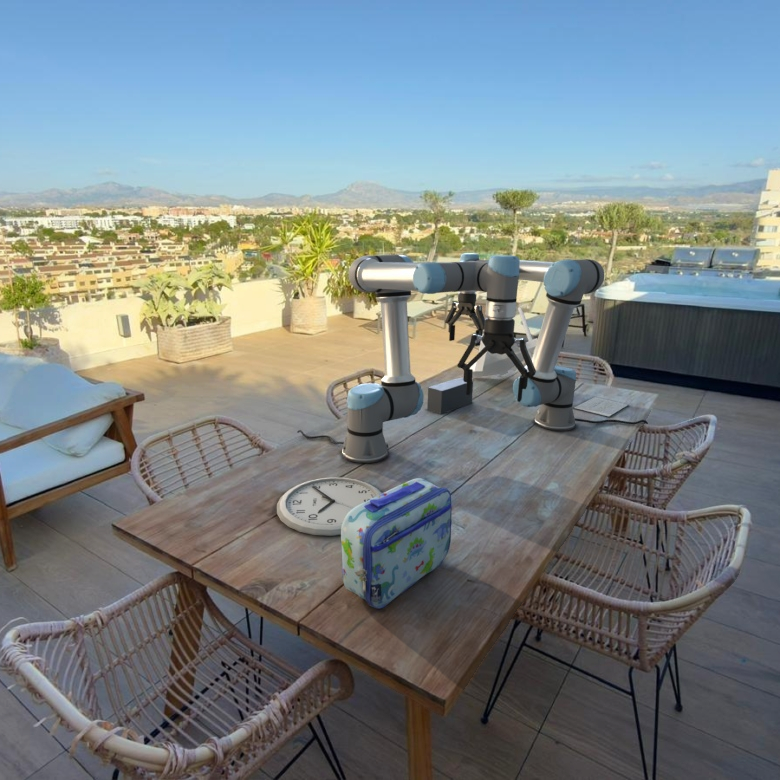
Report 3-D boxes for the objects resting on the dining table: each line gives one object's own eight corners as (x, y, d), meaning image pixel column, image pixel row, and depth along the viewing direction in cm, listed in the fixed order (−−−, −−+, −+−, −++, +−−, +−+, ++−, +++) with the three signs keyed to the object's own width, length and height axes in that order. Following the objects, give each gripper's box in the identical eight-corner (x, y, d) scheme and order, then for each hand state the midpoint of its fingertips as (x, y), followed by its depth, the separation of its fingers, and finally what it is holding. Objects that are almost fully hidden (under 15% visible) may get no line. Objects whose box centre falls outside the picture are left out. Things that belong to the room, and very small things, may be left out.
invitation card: (608, 416, 214) (573, 407, 224) (608, 416, 214) (573, 408, 224) (628, 404, 229) (594, 396, 238) (628, 405, 229) (594, 397, 238)
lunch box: (370, 622, 101) (370, 527, 94) (335, 595, 108) (333, 505, 102) (455, 565, 118) (460, 481, 112) (420, 544, 125) (423, 465, 119)
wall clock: (392, 527, 129) (268, 531, 127) (391, 533, 130) (269, 537, 127) (383, 473, 158) (282, 475, 155) (383, 478, 158) (282, 480, 156)
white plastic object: (488, 419, 266) (468, 396, 241) (469, 346, 288) (449, 319, 263) (559, 395, 254) (545, 368, 229) (533, 321, 276) (519, 290, 251)
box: (458, 398, 234) (459, 377, 231) (471, 402, 229) (473, 380, 226) (427, 409, 219) (428, 387, 216) (440, 414, 214) (441, 391, 211)
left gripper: (448, 316, 134) (444, 394, 141) (549, 324, 126) (540, 407, 132) (456, 312, 141) (452, 387, 147) (552, 319, 132) (543, 398, 139)
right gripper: (438, 290, 221) (436, 339, 227) (487, 296, 204) (483, 349, 210) (449, 288, 226) (447, 337, 232) (498, 294, 209) (494, 346, 215)
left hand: (493, 397), depth 140 cm, fingers open, 13 cm apart
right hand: (464, 343), depth 221 cm, fingers open, 13 cm apart
